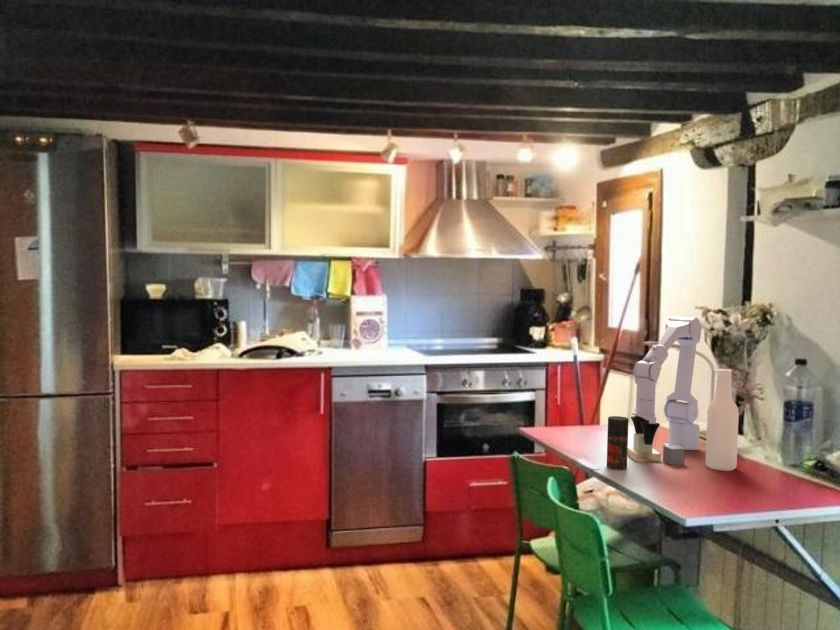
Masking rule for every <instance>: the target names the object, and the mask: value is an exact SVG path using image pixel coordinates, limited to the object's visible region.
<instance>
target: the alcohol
mask: <svg viewBox="0 0 840 630" xmlns="http://www.w3.org/2000/svg"><path fill="white" fill-rule="evenodd" d="M732 372H733V371H732V370H731V369H729V368H719V369H717V373H716V374H717V378H716V379H717V380H716V388H715V396H714V398H713V400H712V401H711V402H710V403H709V405H708V407H707V409H706V410H707V413H706V414H707V415H706V416H707V418H706V437H705V438H706V439H705V460H704V461H705V465H706V467H707V468H708V469H710V470H714V471H723V472H731V471H734V470H735V469H736V468H737V465H738V464H737V463H738V462H737V460H738V443H739V442H738V440H739V439H738V438H739V419H740V416H739V415H740V414H739V413H740V412H739V407H738V406H737V404H736V403H735V402H734V400H733V395H732V394H733V392H732V390H733V389H732V387H733V385H732Z"/></svg>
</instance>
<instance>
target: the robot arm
mask: <svg viewBox="0 0 840 630" xmlns="http://www.w3.org/2000/svg"><path fill="white" fill-rule="evenodd" d="M702 329H703V328H702V324H701V321H700V319H699V318H698V317H685V316H683V317H682V316H674V315H671V316H669V317H668V318H667V320H666V322H665V331H664V333H663V335H662V336H661V338H660V340H659V342H658V344H654V345H652V346H651V348H650V349H649V351H648V352H647V353H646V354H645V356H644V358H643V359H642V360H638V362H636V363H635V364H634V367H633V371H632V372H633V376H634V382H635V384H636V395H635V396H636V398H635V401H636V402H635V408H634V411H632V412H631V415H632V416H630V419H631V421H632V424H633V426H634V431H635V433H636V434H643V435H644V443H645V445H652V443H653V442H654V439H655V435H656V432H657V431H658V429H659V427H660V426H661V425H660V423H659V422H657V417H656V413H655V411H656V384H657V383H656V382H657V380H659V379H658V378H659V377H660V375H661V370H662V366H663V364H664V363H665V361H666V360H667V358H668V357H669V352H668V351H669V349H670V348H671V347H672V346H673V345H674V344H675V343H676V342H677V343H678V344H679V354H678V360H677V368H676V369H677V370H676V375H675V376H676V377H675V386H674V391H672V392H671V393H670V394H668V395H667V396H666V401H665V404H664V406H663V415H664V416H665V418H666V420H667V421H668V443H667V442H664V443H663V446H669V445H677V446H680V447H682V448H685V451H700V450H701V448H700V435H701V433H700V432H701V431H700V425H699V422H697V421H696V420H697V419H698V416H699V407H698V404H699V403H698V401H699V400H698V399H697V398H696V397H695V396H693V394H692V393H691V392H692V391H691V390H692V383H693V376H694V369H695V368H694V367H695V359H696V351H697V344H699V343H700V342H701V334H702Z"/></svg>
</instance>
